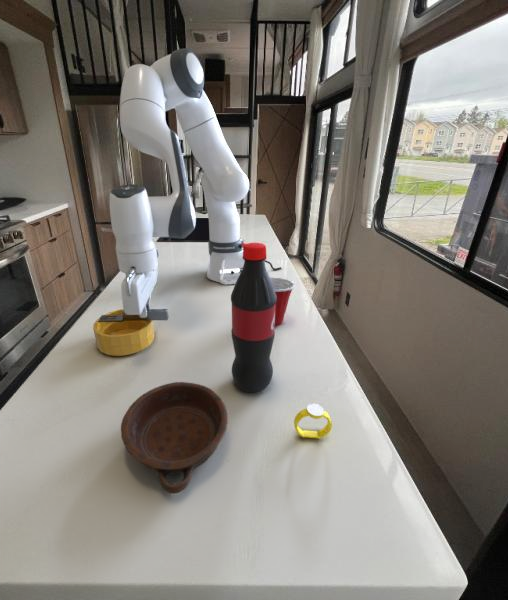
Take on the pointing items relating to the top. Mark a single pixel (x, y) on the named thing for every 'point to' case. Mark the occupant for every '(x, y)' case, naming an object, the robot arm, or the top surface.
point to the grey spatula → (137, 316)
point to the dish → (174, 429)
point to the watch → (316, 413)
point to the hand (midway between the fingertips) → (145, 313)
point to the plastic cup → (281, 297)
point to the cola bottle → (253, 321)
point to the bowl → (123, 335)
